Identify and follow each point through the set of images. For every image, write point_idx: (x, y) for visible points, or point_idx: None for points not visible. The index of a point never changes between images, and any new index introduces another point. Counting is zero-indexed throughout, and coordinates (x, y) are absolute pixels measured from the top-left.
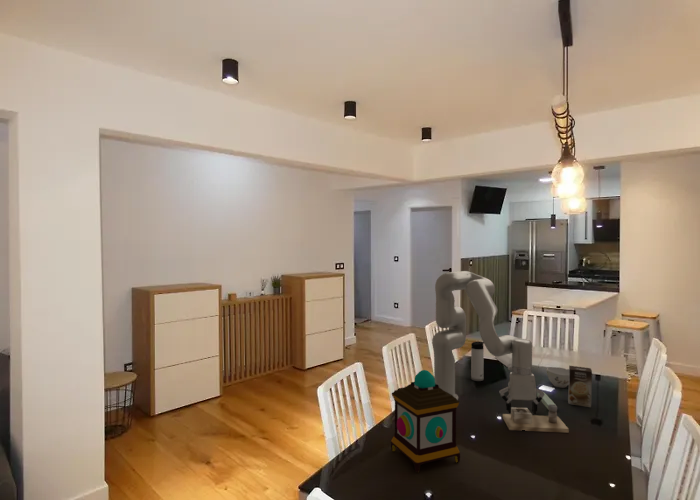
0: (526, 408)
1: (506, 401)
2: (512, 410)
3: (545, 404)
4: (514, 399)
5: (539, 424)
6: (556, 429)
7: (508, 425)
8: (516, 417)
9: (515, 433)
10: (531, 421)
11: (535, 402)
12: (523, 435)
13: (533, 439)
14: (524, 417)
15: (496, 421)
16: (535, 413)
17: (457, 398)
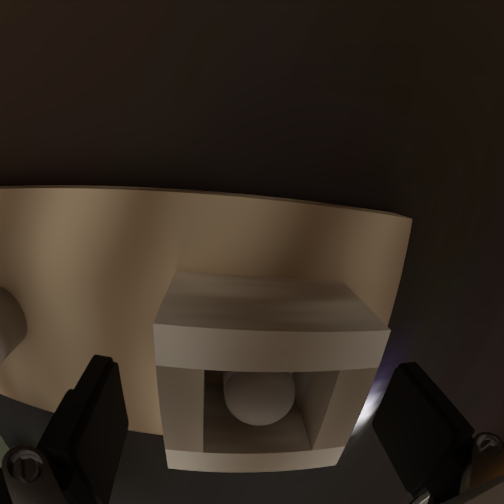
0: (180, 461)
1: (499, 443)
2: (349, 421)
3: (2, 458)
4: (492, 481)
5: (101, 265)
6: (3, 187)
7: (398, 256)
8: (353, 307)
9: (372, 143)
10: (174, 282)
11: (42, 478)
12: (320, 99)
13: (259, 25)
14: (260, 305)
15: (408, 355)
16: (98, 357)
17: (426, 497)
